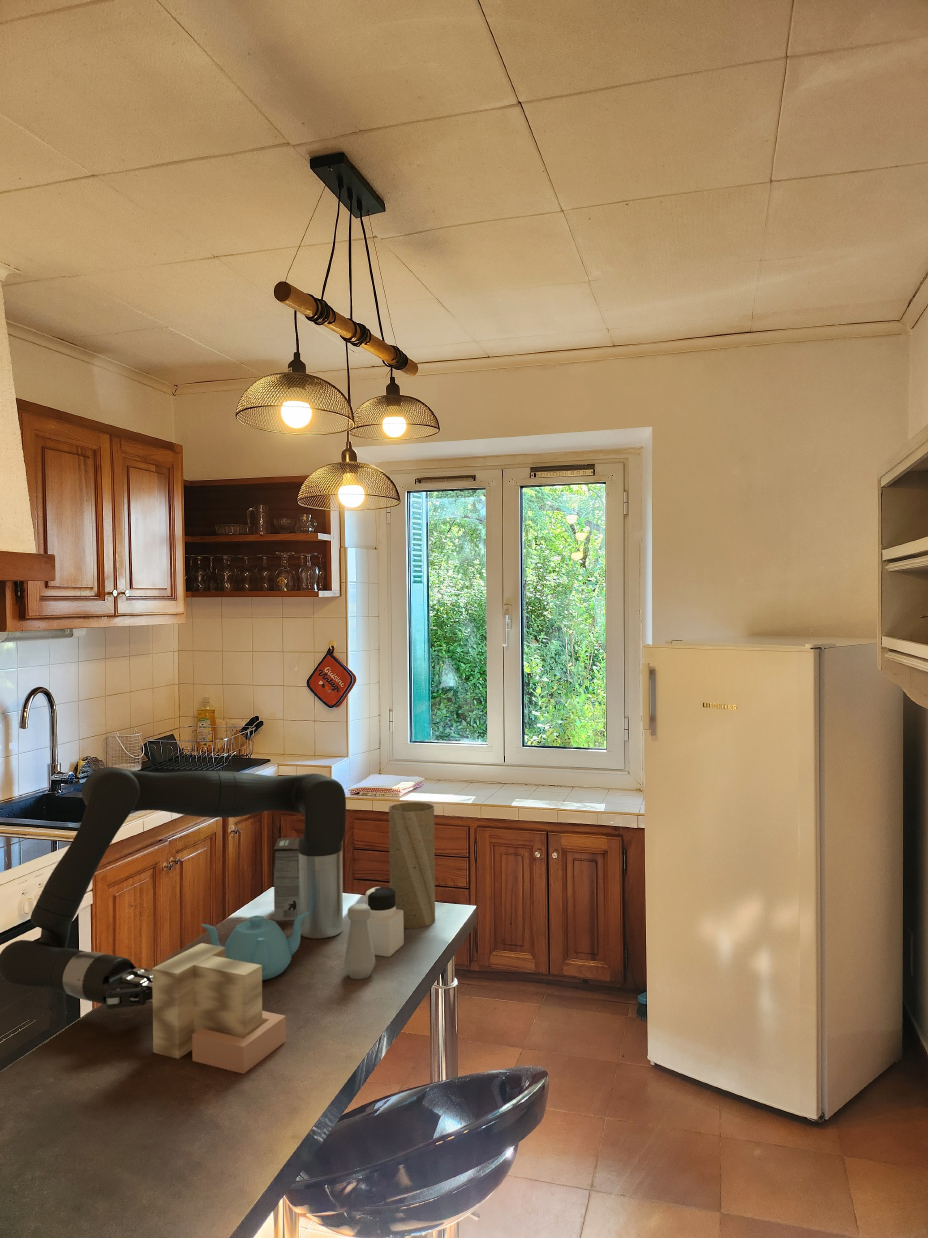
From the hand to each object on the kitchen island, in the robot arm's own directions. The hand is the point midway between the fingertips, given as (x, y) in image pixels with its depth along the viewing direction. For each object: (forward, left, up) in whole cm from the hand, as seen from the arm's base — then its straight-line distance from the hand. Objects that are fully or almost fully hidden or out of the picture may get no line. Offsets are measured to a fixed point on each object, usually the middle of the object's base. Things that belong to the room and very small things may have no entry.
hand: (178, 995), depth 136 cm
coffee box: (-48, +31, -7) cm, 57 cm away
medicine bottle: (-19, +42, -7) cm, 46 cm away
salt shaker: (-9, +34, -7) cm, 35 cm away
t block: (+6, +5, -7) cm, 10 cm away
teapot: (-19, +17, -7) cm, 26 cm away
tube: (-31, +54, -7) cm, 62 cm away
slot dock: (+9, +7, -7) cm, 13 cm away
